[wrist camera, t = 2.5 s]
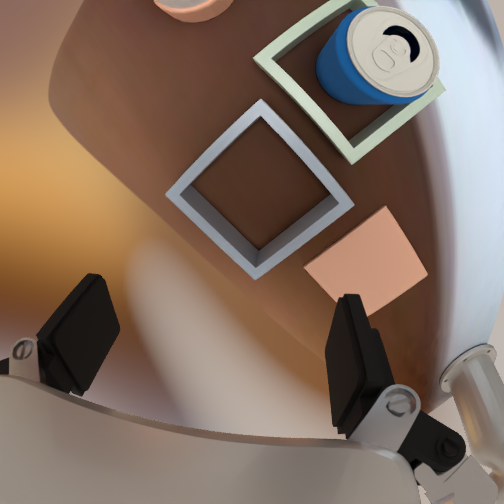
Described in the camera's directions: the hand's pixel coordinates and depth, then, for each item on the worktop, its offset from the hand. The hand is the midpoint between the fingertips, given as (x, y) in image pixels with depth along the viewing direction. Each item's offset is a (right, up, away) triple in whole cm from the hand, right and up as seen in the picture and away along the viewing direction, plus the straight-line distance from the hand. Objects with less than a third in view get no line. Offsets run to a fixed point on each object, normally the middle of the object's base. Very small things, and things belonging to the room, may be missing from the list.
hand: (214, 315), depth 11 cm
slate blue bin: (+2, +9, +17) cm, 19 cm away
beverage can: (+10, +19, +11) cm, 24 cm away
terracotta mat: (+15, 0, +20) cm, 25 cm away
